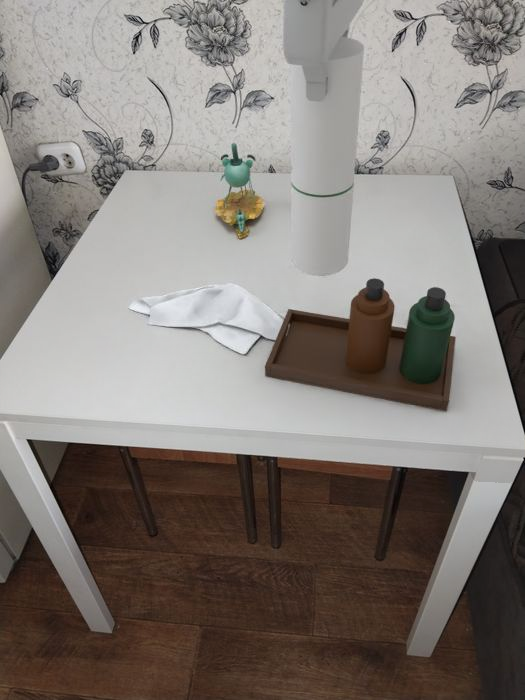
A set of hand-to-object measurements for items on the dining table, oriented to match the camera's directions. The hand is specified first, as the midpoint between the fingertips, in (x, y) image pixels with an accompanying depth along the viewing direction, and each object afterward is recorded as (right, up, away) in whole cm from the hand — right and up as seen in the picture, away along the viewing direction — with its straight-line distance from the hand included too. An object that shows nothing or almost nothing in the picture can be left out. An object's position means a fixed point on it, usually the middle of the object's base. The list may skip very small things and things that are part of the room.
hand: (326, 82), depth 60 cm
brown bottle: (+8, -29, +23) cm, 38 cm away
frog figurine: (-11, -1, +54) cm, 55 cm away
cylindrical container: (+1, -16, +15) cm, 22 cm away
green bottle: (+15, -30, +22) cm, 40 cm away
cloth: (-14, -21, +33) cm, 41 cm away
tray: (+7, -29, +24) cm, 38 cm away
